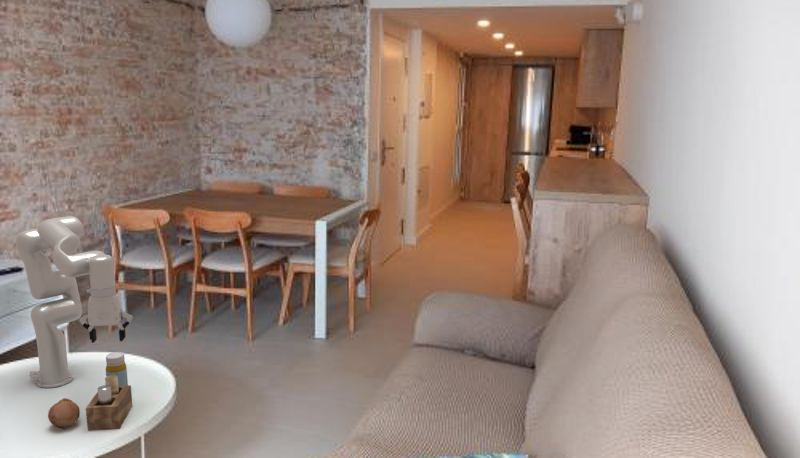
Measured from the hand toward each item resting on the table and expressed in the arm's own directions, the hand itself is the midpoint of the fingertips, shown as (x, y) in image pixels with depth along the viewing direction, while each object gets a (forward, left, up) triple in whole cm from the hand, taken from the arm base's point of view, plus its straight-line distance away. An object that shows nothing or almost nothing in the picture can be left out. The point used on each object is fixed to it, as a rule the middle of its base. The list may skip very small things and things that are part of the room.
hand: (108, 340), depth 220 cm
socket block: (0, -4, -26) cm, 27 cm away
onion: (-14, -8, -27) cm, 31 cm away
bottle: (-3, +15, -27) cm, 31 cm away
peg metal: (0, -8, -21) cm, 23 cm away
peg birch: (0, 0, -21) cm, 21 cm away
